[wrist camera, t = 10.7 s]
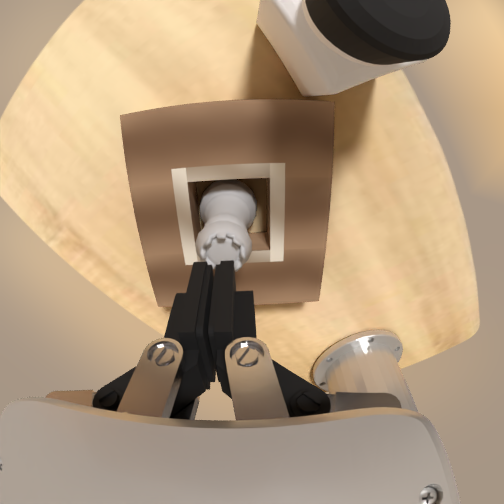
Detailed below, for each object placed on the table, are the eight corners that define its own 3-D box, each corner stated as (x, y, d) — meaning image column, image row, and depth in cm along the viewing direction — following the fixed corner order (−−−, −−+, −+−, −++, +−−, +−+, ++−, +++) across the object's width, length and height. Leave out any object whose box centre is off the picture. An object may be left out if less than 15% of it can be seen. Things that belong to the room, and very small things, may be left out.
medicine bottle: (379, 67, 16) (489, 58, 6) (302, 98, 18) (374, 95, 7) (335, -6, 13) (411, -72, 3) (254, 22, 15) (267, -61, 4)
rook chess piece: (222, 238, 23) (215, 300, 17) (189, 197, 21) (165, 246, 15) (267, 210, 22) (279, 265, 15) (235, 165, 20) (232, 201, 13)
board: (311, 280, 26) (318, 301, 23) (165, 286, 26) (158, 306, 23) (322, 101, 18) (334, 102, 15) (135, 113, 18) (119, 115, 15)
